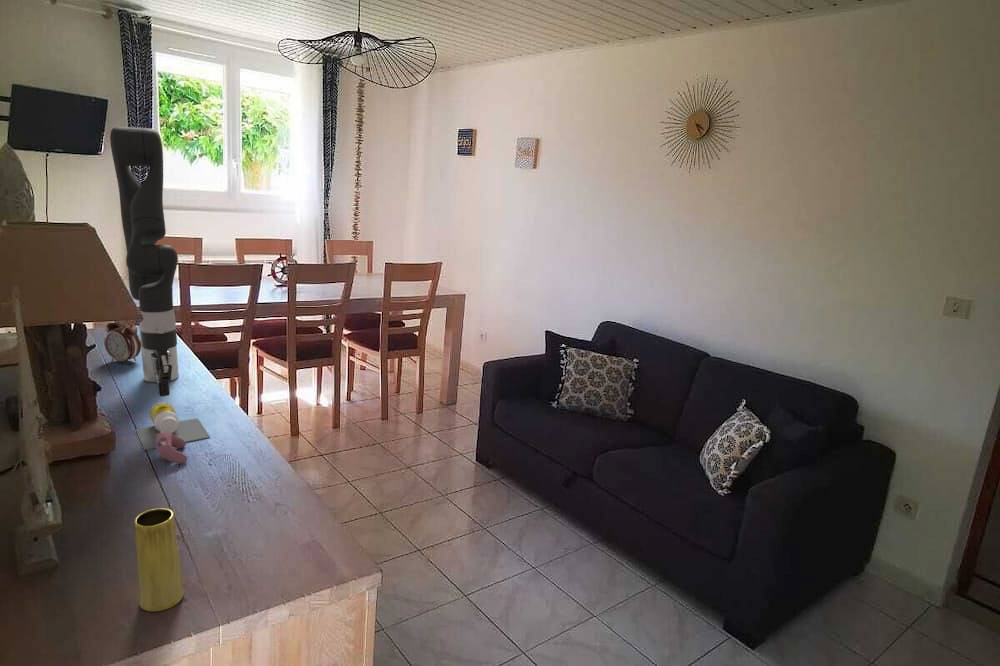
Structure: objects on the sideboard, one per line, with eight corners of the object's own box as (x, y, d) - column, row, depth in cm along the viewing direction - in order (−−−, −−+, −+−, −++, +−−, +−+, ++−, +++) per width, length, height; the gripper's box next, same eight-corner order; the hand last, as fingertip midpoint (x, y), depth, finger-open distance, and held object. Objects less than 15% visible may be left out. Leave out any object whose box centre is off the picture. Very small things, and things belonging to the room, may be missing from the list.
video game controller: (168, 454, 145) (150, 431, 142) (187, 443, 147) (170, 420, 144) (169, 473, 137) (150, 449, 134) (189, 461, 138) (171, 438, 135)
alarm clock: (104, 361, 199) (99, 315, 195) (117, 357, 204) (113, 312, 200) (131, 366, 196) (127, 320, 192) (144, 362, 201) (140, 316, 197)
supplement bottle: (177, 405, 159) (185, 419, 151) (167, 424, 158) (175, 439, 151) (155, 399, 155) (162, 413, 148) (145, 419, 155) (151, 434, 147)
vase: (142, 617, 93) (133, 533, 89) (136, 594, 97) (128, 513, 94) (187, 603, 96) (180, 521, 92) (180, 581, 101) (173, 502, 97)
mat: (135, 430, 153) (135, 429, 153) (197, 419, 161) (197, 418, 161) (144, 450, 143) (144, 449, 143) (210, 437, 151) (210, 436, 151)
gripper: (136, 323, 154) (142, 389, 158) (145, 336, 144) (151, 406, 148) (170, 320, 158) (175, 384, 163) (181, 332, 148) (186, 401, 152)
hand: (164, 395), depth 155 cm, fingers closed
